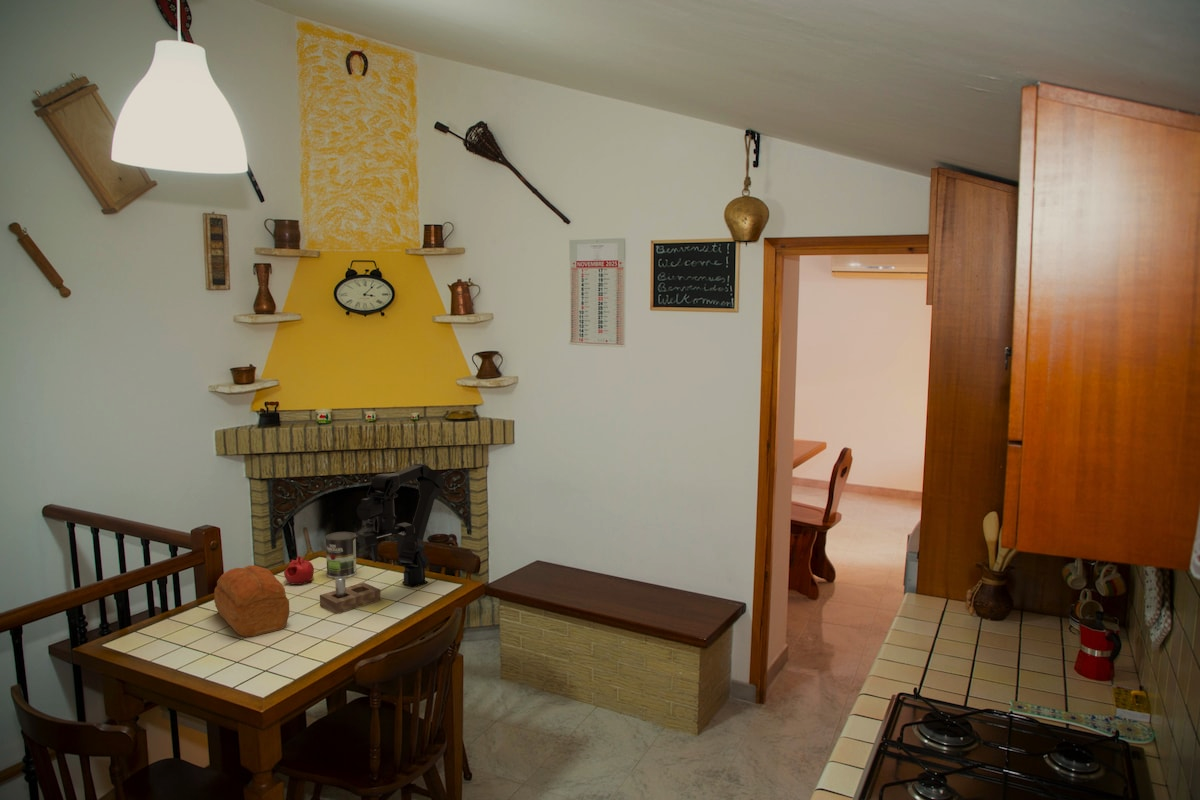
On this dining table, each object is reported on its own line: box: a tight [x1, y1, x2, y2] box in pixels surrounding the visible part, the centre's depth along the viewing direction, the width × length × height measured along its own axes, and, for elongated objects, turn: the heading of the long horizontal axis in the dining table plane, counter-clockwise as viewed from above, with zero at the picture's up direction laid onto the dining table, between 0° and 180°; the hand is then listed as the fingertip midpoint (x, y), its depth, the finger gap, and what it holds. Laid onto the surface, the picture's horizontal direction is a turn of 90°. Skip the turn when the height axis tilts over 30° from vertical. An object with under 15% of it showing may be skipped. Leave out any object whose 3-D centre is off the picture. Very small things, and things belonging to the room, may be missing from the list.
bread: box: [213, 564, 290, 638], centre depth 250 cm, size 16×27×16 cm, turn 40°
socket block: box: [319, 582, 382, 614], centre depth 265 cm, size 16×10×4 cm, turn 138°
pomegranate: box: [283, 555, 315, 585], centre depth 284 cm, size 10×10×9 cm
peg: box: [334, 577, 346, 599], centre depth 262 cm, size 3×3×9 cm
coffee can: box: [325, 531, 357, 579], centre depth 291 cm, size 10×10×14 cm
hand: (387, 558), depth 269 cm, fingers open, 9 cm apart
